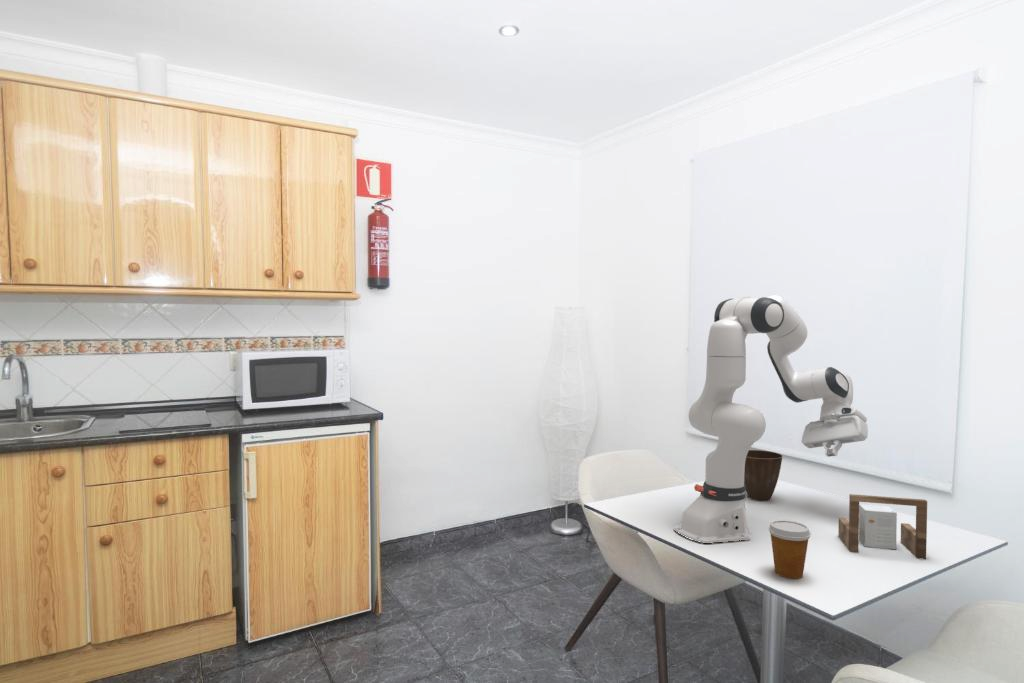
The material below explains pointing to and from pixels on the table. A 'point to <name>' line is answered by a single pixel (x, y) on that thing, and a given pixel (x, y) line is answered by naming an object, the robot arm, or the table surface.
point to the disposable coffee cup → (789, 547)
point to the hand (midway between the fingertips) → (831, 455)
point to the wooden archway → (909, 535)
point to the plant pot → (761, 474)
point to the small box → (877, 526)
